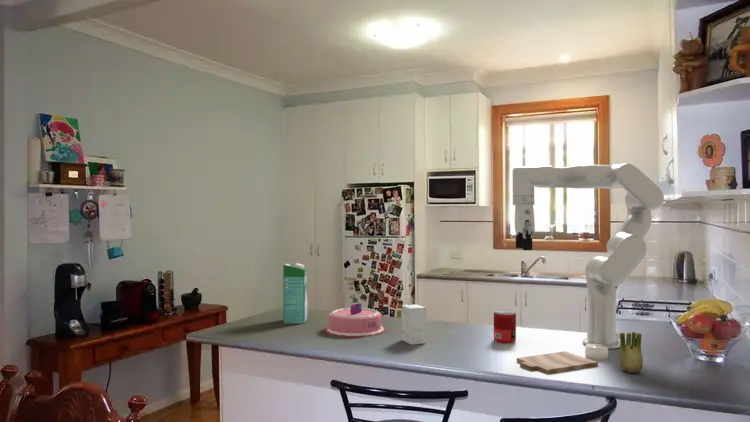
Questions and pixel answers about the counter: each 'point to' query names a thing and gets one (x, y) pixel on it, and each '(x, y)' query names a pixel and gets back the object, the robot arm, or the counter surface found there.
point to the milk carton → (294, 293)
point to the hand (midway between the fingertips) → (523, 249)
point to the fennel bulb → (631, 353)
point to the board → (555, 362)
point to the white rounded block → (596, 351)
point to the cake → (355, 322)
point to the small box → (414, 324)
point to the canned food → (504, 326)
